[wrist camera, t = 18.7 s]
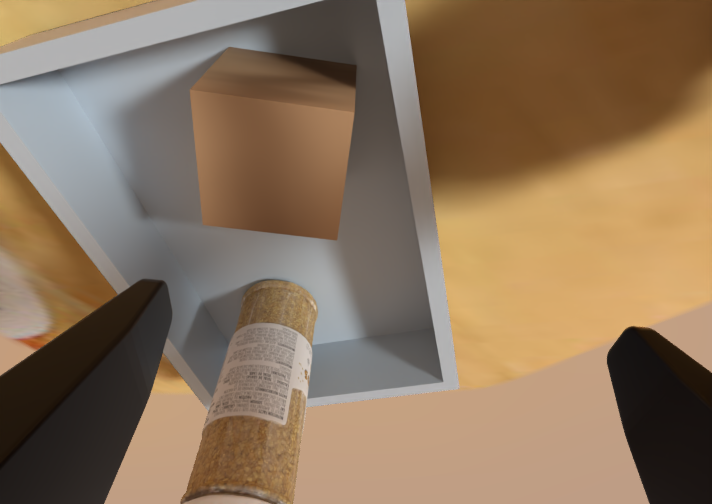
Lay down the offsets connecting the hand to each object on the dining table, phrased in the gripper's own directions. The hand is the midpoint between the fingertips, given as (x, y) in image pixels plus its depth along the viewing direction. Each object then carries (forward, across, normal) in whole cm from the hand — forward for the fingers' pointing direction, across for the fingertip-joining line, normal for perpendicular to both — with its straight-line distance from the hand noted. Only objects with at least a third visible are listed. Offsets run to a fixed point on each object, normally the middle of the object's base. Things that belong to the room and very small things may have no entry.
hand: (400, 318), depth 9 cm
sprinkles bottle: (+13, +4, +13) cm, 18 cm away
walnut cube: (+12, +4, +1) cm, 13 cm away
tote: (+13, +4, +7) cm, 15 cm away
